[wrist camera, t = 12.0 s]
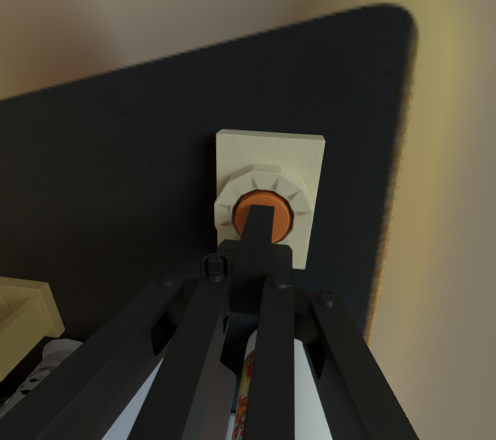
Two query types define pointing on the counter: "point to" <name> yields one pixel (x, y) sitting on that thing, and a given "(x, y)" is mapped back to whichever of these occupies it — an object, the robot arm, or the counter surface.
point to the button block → (269, 180)
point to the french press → (43, 368)
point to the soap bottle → (215, 415)
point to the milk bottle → (306, 397)
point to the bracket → (25, 319)
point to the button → (269, 200)
